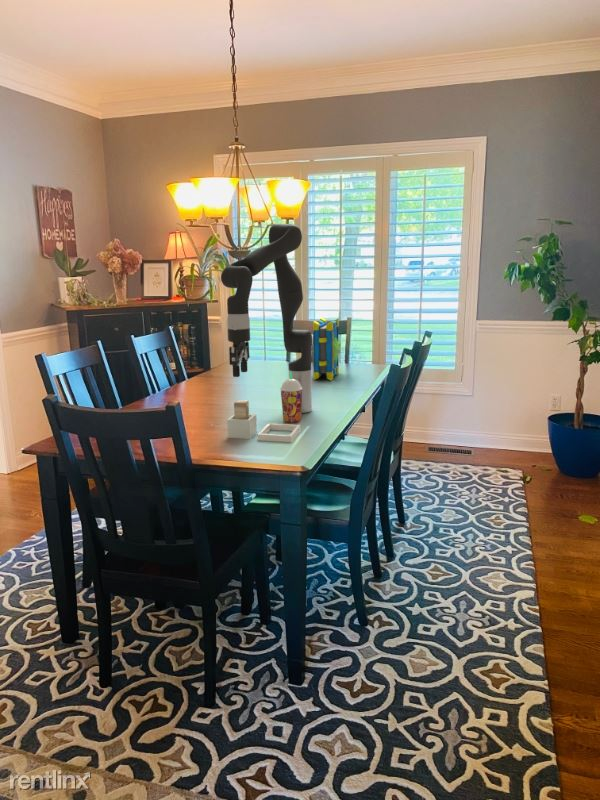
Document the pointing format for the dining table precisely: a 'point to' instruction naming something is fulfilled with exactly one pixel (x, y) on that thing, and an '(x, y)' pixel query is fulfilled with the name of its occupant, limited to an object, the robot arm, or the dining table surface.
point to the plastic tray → (274, 437)
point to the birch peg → (241, 409)
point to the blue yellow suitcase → (326, 348)
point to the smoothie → (291, 400)
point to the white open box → (242, 427)
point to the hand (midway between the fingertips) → (240, 374)
